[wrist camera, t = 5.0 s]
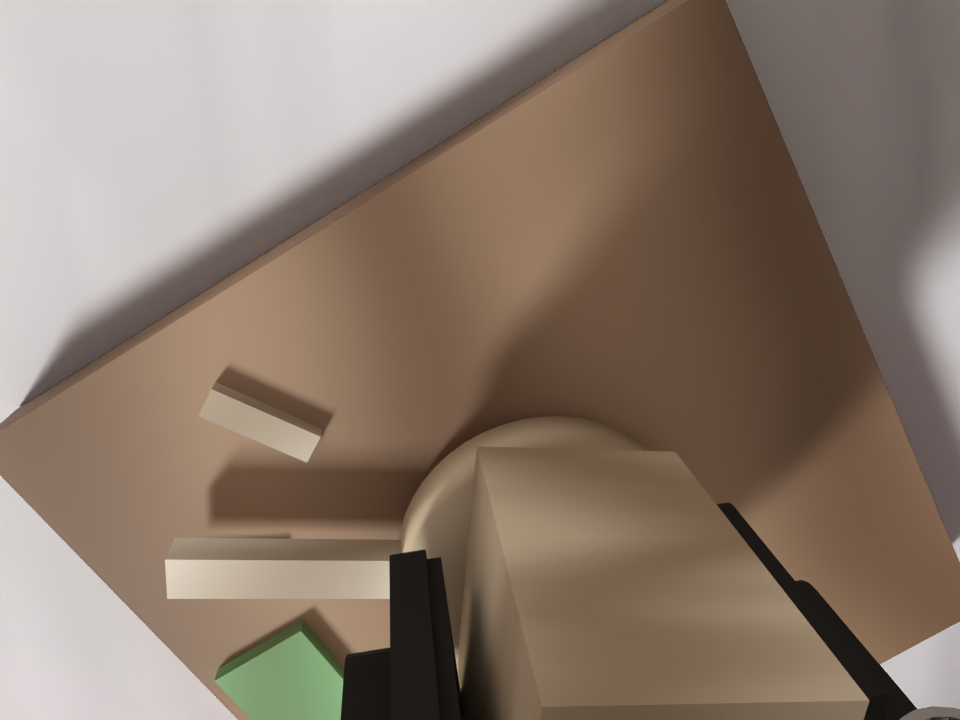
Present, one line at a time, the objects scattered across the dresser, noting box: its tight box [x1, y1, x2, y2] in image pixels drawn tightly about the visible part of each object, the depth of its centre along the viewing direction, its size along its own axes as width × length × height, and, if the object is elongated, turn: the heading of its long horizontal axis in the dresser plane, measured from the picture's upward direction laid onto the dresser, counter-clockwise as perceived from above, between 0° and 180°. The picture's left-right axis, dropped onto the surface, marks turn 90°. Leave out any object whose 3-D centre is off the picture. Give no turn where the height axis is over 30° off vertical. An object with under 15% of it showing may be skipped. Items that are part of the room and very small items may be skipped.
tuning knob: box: [165, 416, 870, 720], centre depth 10 cm, size 8×5×6 cm, turn 85°
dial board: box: [0, 0, 960, 720], centre depth 14 cm, size 13×13×2 cm
